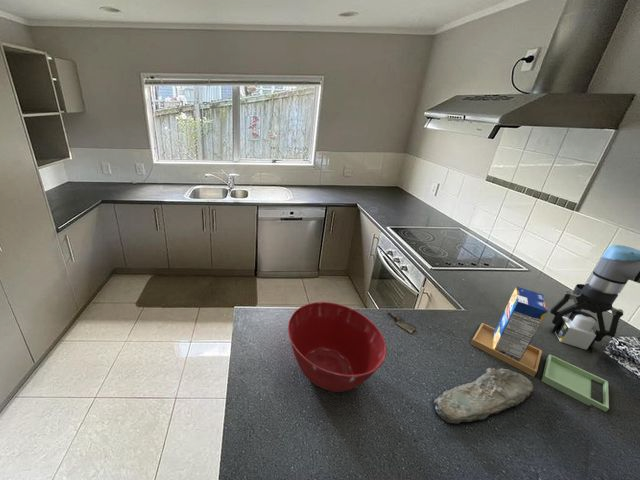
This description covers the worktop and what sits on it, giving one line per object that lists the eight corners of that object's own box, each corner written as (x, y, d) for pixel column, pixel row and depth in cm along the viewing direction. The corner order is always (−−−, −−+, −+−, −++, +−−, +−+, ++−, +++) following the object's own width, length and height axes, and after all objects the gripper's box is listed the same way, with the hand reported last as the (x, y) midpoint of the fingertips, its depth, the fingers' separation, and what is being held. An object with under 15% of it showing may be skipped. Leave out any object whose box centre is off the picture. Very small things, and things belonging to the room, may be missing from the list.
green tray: (604, 386, 87) (608, 381, 86) (604, 414, 79) (609, 408, 78) (546, 359, 96) (549, 354, 95) (541, 381, 88) (544, 375, 87)
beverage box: (492, 352, 97) (518, 301, 88) (492, 334, 105) (516, 286, 96) (518, 363, 93) (547, 311, 84) (516, 344, 101) (543, 294, 92)
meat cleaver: (406, 334, 104) (417, 332, 106) (407, 332, 104) (418, 330, 105) (385, 313, 114) (394, 311, 116) (385, 310, 114) (395, 309, 115)
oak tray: (539, 355, 97) (542, 350, 96) (533, 377, 89) (536, 371, 88) (480, 327, 109) (482, 322, 108) (470, 344, 101) (472, 339, 100)
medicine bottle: (553, 330, 109) (567, 305, 104) (578, 337, 106) (594, 312, 101) (559, 342, 103) (575, 316, 99) (586, 350, 100) (604, 324, 95)
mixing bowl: (382, 357, 94) (392, 322, 88) (365, 436, 71) (378, 395, 65) (303, 324, 107) (308, 291, 101) (268, 382, 84) (271, 344, 78)
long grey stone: (421, 401, 81) (452, 438, 73) (426, 390, 79) (458, 427, 71) (505, 367, 91) (540, 397, 83) (511, 357, 89) (549, 385, 80)
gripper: (651, 299, 90) (613, 351, 99) (559, 270, 105) (533, 318, 114) (654, 309, 86) (614, 362, 95) (557, 277, 100) (530, 326, 109)
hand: (570, 338), depth 104 cm, fingers open, 9 cm apart
